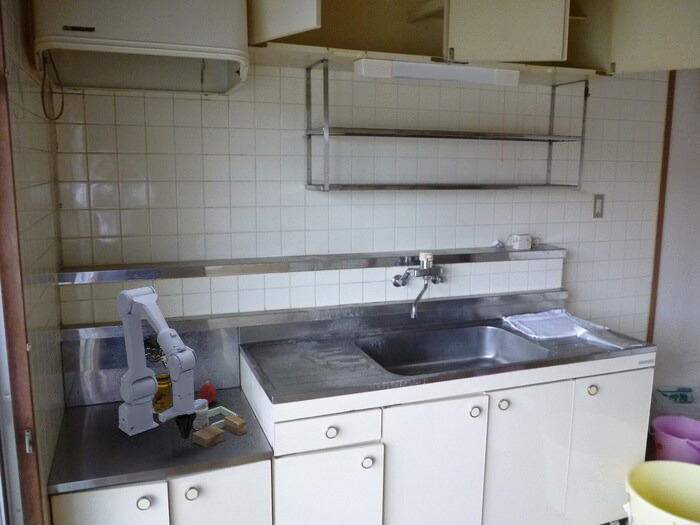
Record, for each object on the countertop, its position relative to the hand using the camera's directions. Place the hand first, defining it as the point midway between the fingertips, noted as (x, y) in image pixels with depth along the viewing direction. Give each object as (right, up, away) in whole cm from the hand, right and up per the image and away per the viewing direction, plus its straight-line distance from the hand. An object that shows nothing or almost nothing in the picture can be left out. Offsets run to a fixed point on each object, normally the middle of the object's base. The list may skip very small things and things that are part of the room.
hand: (184, 437), depth 169 cm
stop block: (+12, -2, +13) cm, 18 cm away
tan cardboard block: (+5, -3, +7) cm, 9 cm away
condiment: (-14, +1, +28) cm, 31 cm away
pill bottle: (+1, -1, +15) cm, 15 cm away
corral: (+5, 0, +19) cm, 20 cm away
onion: (-1, +2, +31) cm, 31 cm away
